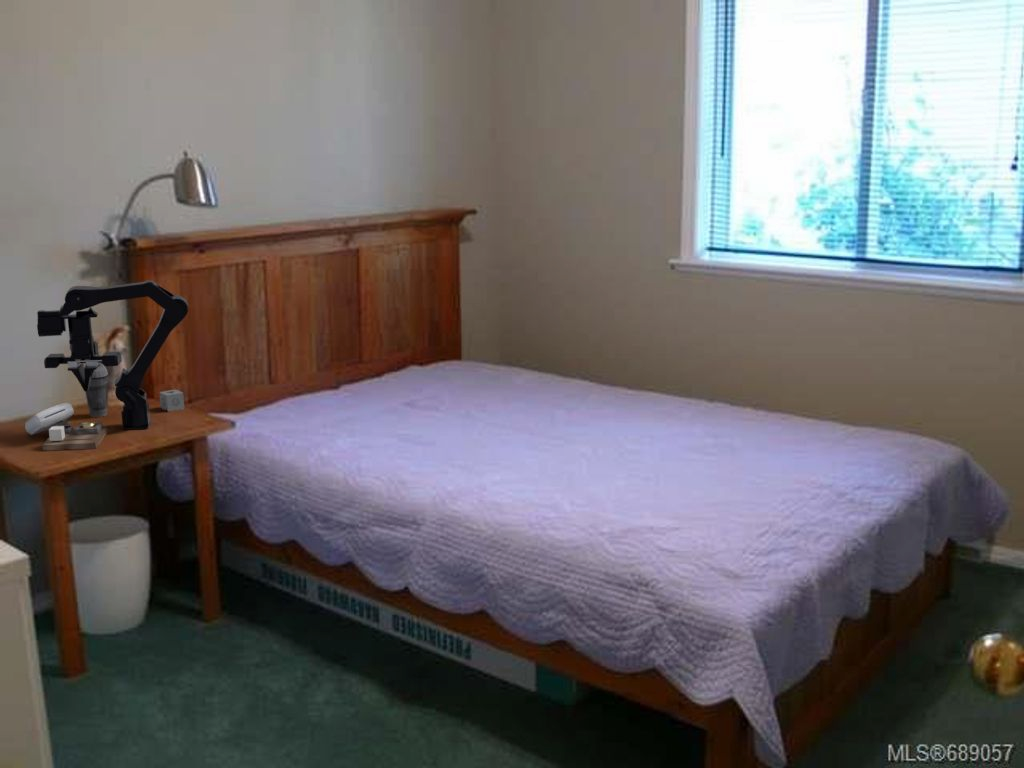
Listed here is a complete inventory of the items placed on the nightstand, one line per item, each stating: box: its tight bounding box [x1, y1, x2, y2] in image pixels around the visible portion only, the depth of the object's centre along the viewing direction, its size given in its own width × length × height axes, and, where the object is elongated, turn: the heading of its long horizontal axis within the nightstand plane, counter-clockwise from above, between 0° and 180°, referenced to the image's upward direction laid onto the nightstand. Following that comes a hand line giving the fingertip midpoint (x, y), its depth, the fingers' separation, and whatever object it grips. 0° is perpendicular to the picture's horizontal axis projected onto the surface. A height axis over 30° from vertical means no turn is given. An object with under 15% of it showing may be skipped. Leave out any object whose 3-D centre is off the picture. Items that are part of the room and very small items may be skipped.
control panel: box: [41, 421, 108, 451], centre depth 289 cm, size 13×14×3 cm
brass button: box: [81, 421, 95, 428], centre depth 293 cm, size 3×3×2 cm
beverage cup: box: [84, 355, 109, 418], centre depth 311 cm, size 7×7×20 cm
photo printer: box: [24, 402, 75, 436], centre depth 293 cm, size 10×4×12 cm
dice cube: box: [159, 389, 185, 412], centre depth 319 cm, size 5×5×5 cm
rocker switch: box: [56, 420, 73, 426], centre depth 292 cm, size 3×4×1 cm, turn 8°
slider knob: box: [48, 425, 65, 441], centre depth 285 cm, size 3×3×3 cm
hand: (86, 391), depth 296 cm, fingers closed
